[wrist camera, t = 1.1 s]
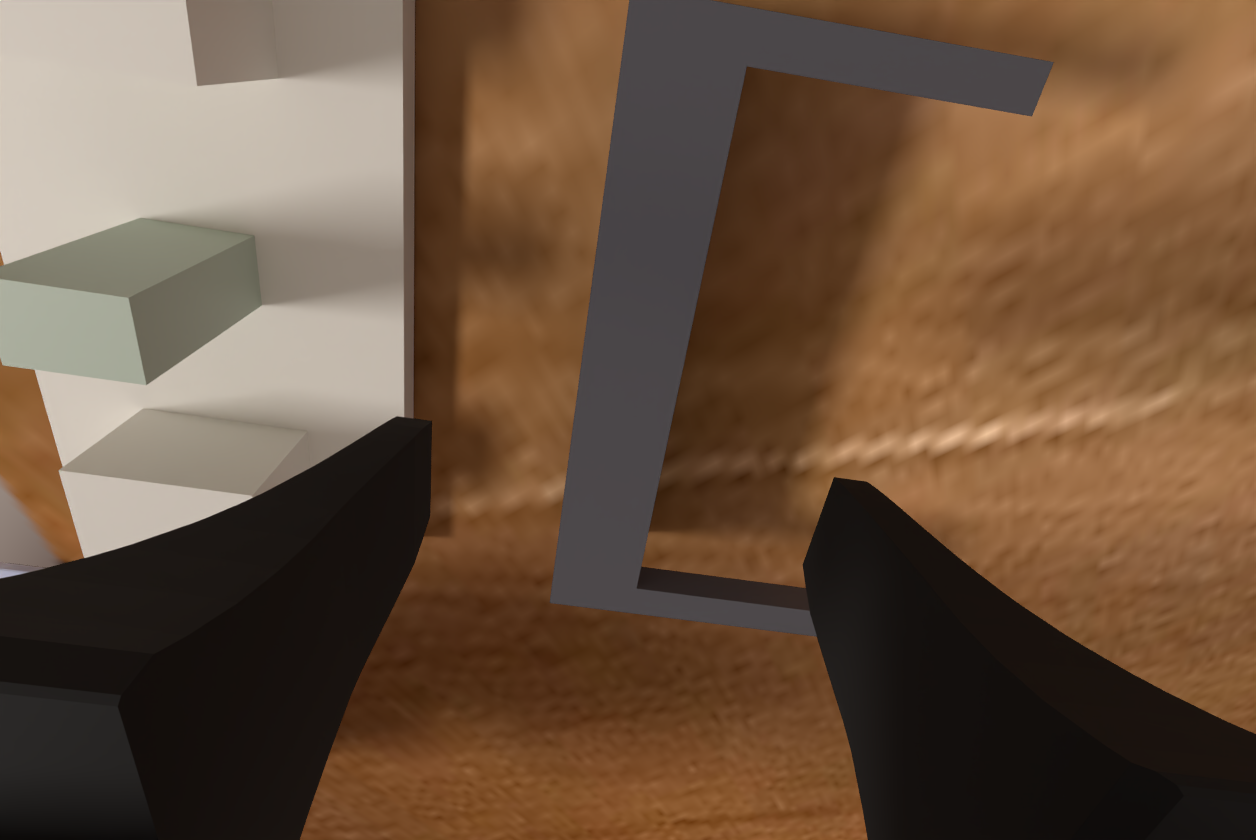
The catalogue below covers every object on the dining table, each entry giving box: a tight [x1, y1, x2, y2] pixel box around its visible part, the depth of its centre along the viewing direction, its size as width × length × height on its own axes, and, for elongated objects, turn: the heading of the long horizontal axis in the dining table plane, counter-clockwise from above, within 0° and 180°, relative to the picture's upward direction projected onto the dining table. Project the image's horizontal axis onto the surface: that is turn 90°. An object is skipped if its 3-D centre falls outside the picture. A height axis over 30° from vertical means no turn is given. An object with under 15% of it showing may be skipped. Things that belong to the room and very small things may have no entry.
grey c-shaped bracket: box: [550, 0, 1054, 637], centre depth 19 cm, size 16×8×4 cm, turn 171°
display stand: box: [0, 0, 415, 558], centre depth 17 cm, size 19×11×6 cm, turn 171°
